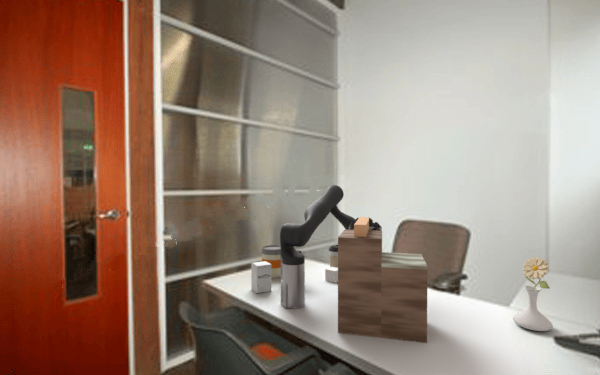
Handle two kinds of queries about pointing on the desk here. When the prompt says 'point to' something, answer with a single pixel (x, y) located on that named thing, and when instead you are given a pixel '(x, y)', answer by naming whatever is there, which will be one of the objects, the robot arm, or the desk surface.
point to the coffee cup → (333, 256)
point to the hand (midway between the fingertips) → (363, 220)
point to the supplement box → (261, 277)
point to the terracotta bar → (361, 227)
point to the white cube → (331, 274)
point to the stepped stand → (380, 290)
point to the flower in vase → (534, 297)
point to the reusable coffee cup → (272, 258)
